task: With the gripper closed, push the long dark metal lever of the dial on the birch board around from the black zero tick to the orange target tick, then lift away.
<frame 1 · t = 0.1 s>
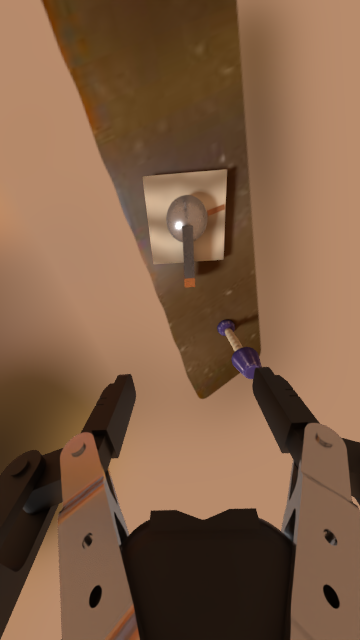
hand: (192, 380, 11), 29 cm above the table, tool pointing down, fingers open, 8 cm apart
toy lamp: (226, 325, 42), on the table
board: (186, 222, 32), on the table
dial: (187, 244, 30), point 4 cm above the table, hinge at 0.0°
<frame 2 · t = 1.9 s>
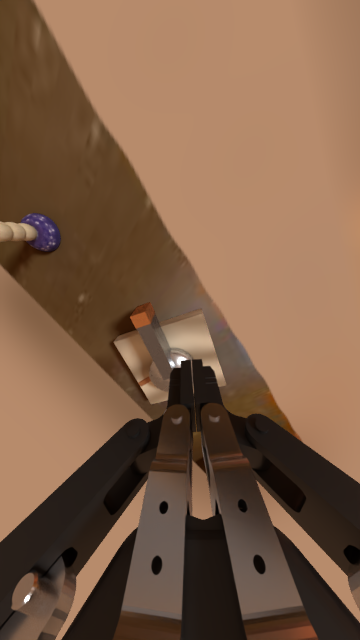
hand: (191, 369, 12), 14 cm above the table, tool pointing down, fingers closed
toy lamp: (44, 236, 21), on the table
board: (174, 357, 29), on the table
dial: (163, 354, 23), point 4 cm above the table, hinge at 0.0°
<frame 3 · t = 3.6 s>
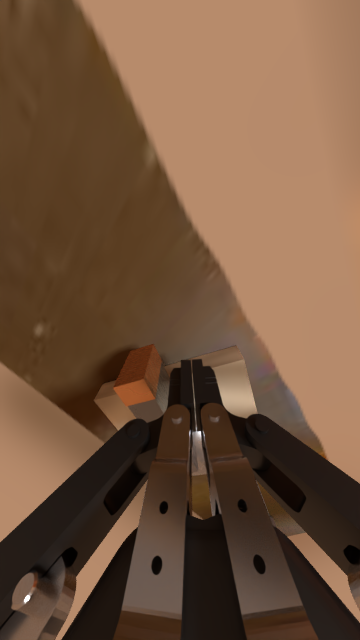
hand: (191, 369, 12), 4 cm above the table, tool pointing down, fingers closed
board: (188, 411, 19), on the table
dial: (175, 428, 14), point 4 cm above the table, hinge at 0.1°, touching gripper
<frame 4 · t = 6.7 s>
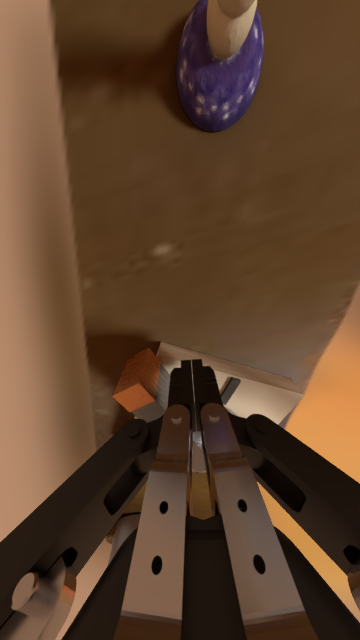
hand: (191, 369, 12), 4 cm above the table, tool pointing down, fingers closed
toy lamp: (210, 85, 9), on the table
board: (202, 408, 19), on the table
dial: (188, 427, 14), point 4 cm above the table, hinge at 50.3°, touching gripper
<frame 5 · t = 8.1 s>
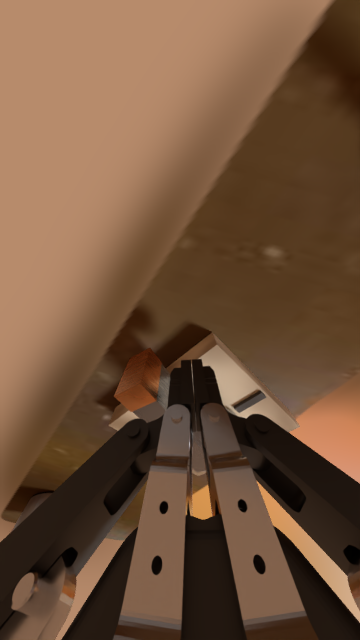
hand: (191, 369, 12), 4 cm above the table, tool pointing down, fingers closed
board: (202, 408, 19), on the table
dial: (188, 427, 14), point 4 cm above the table, hinge at 77.5°, touching gripper
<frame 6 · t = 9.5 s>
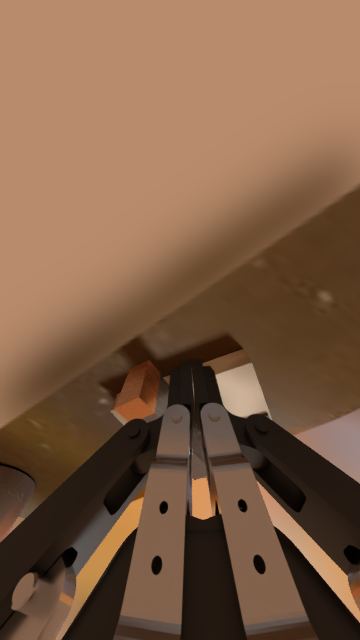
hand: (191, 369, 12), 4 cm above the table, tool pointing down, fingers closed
board: (201, 415, 19), on the table
dial: (186, 435, 14), point 4 cm above the table, hinge at 96.1°
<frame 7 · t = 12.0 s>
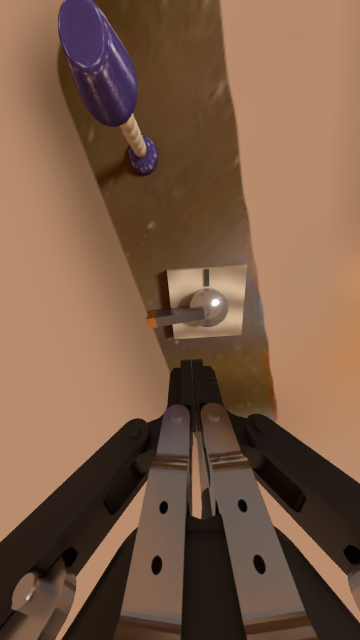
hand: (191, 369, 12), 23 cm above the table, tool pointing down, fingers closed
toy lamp: (142, 159, 25), on the table
board: (205, 302, 34), on the table
dial: (188, 313, 30), point 4 cm above the table, hinge at 96.2°
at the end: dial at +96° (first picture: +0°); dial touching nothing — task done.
